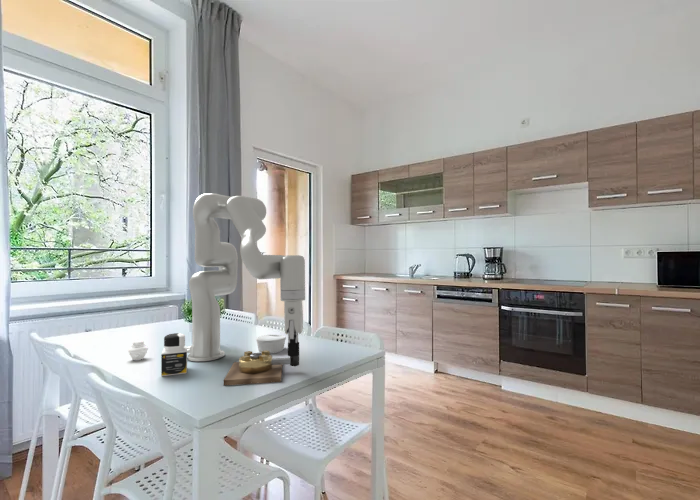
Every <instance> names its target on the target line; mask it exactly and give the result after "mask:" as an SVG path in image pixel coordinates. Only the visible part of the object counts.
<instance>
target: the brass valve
mask: <svg viewBox="0 0 700 500" xmlns="http://www.w3.org/2000/svg"><path fill="white" fill-rule="evenodd" d="M238 362H239V371H241V372H244V373H259V372H264V371H267V370H270V369H271V368H272V365H283V366H284V365H289V366H290V367H298V366H300V354H299V355H298V356H289V357H277V358H275V357H274V358H273V355H271V354H270V351H267V350H265V351H262V353H261V352H253V351H252V350H247V351H244V353H243V355H242V356H240V357H239V359H238Z"/></svg>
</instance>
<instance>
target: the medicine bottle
mask: <svg viewBox="0 0 700 500" xmlns="http://www.w3.org/2000/svg"><path fill="white" fill-rule="evenodd" d="M187 347H188V346H187V345H186V335H185V334H183V333H178V332H177V333H169V334H166V335H165V336H164V338H163V349H162V352H161V355H160V358H161V361H160V364H161V366H160V367H161V369H160V370H161V371H160V373H161V374H160V376H161V377H169V376H176V375H183V374H187V372H188V353H187Z"/></svg>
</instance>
